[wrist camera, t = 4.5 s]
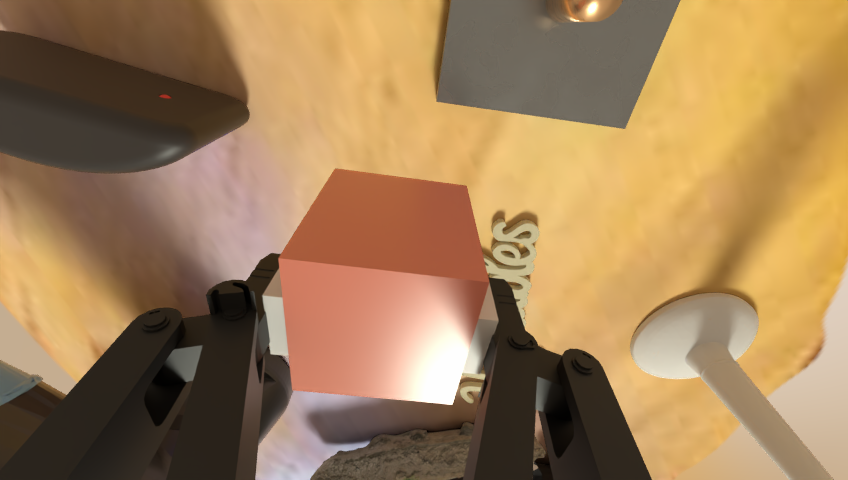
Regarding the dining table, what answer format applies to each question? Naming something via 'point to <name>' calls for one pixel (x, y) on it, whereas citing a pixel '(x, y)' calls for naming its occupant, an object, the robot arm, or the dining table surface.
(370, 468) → the stone fragment
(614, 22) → the gray slab
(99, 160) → the leaning round-cornered charcoal block
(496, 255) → the decorative sign
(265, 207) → the dining table surface
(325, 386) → the salmon pink cube
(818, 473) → the candlestick
